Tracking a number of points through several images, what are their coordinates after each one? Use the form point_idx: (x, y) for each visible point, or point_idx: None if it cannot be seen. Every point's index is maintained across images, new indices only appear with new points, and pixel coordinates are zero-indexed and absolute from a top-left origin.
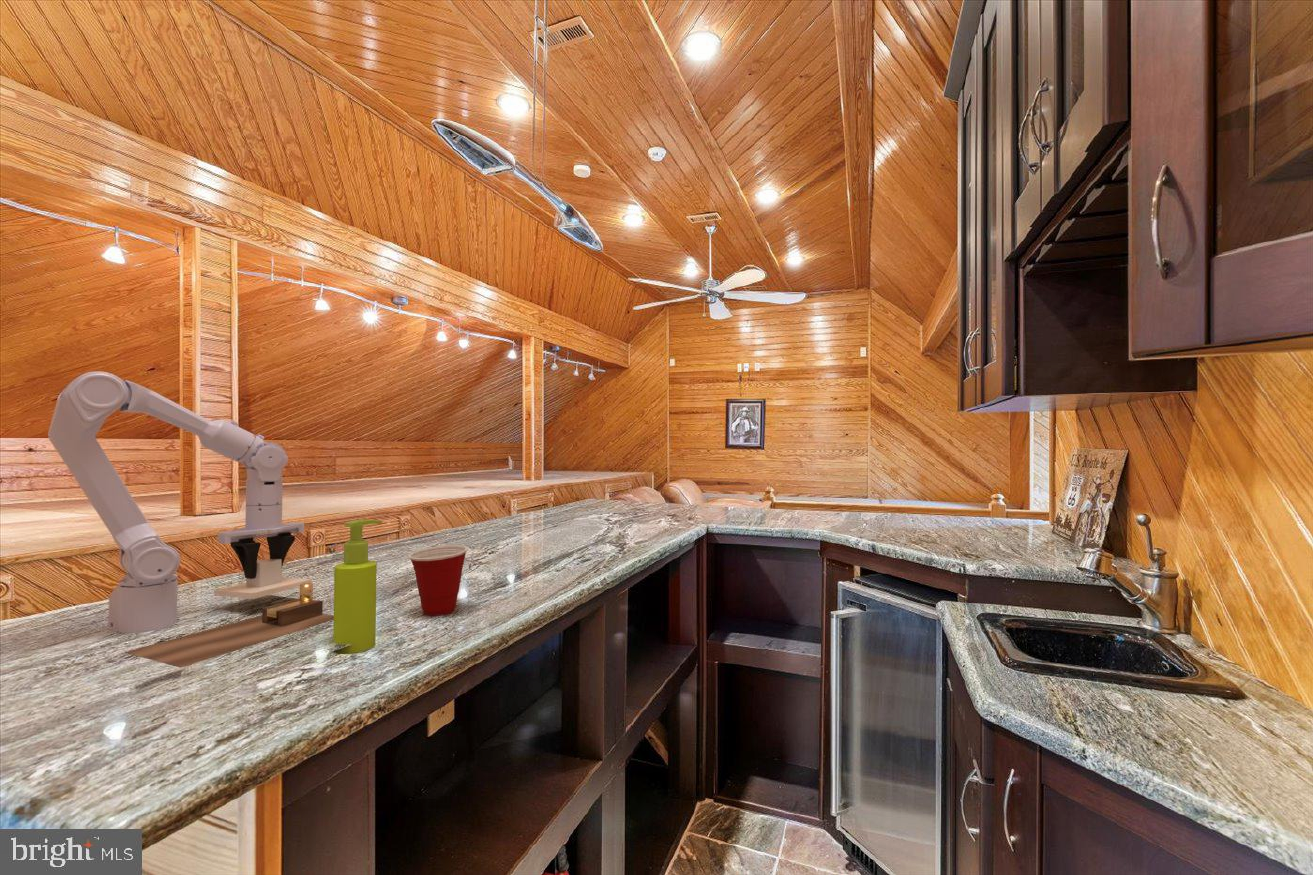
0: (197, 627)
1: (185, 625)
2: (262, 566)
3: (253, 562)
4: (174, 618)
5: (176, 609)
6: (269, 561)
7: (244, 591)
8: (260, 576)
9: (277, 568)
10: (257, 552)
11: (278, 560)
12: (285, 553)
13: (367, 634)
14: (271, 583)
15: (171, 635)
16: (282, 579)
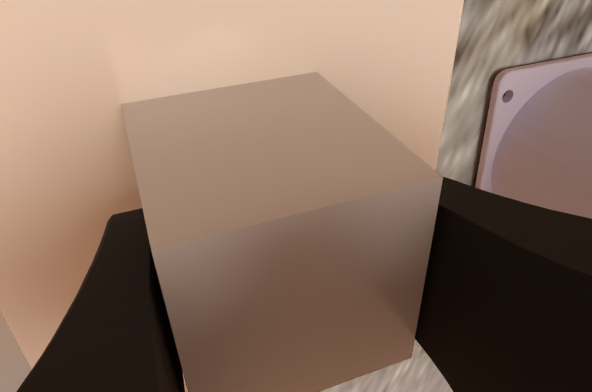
0: (456, 93)
1: (450, 164)
2: (388, 158)
3: (494, 204)
4: (565, 113)
5: (580, 142)
6: (323, 209)
7: (436, 34)
8: (356, 108)
9: (191, 167)
10: (580, 267)
11: (195, 233)
12: (65, 358)
13: None
14: (223, 94)
15: (543, 60)
16: (53, 253)
